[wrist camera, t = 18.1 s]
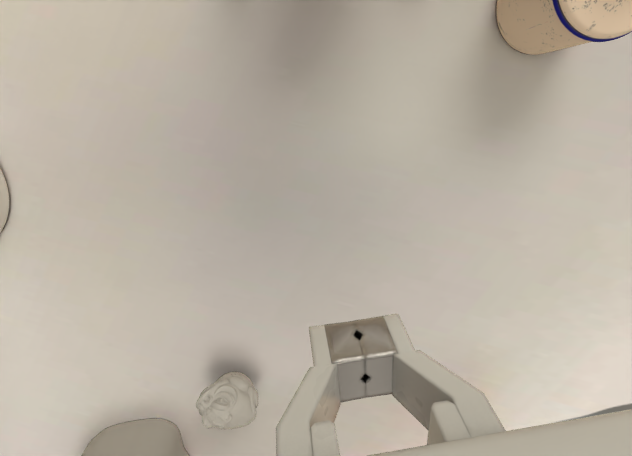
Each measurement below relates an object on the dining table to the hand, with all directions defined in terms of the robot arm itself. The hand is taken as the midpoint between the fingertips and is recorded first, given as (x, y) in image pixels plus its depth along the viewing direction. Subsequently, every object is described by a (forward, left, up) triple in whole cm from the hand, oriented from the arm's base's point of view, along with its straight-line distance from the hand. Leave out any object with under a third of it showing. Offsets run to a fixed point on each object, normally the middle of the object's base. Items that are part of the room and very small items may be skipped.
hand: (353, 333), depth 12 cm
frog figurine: (-11, -23, -28) cm, 38 cm away
